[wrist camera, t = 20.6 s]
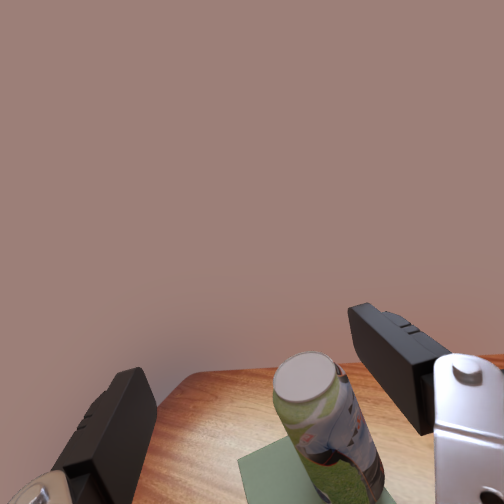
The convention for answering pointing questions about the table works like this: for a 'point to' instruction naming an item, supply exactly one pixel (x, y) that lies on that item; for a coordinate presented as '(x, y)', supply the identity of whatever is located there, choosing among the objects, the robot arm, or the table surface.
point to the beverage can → (328, 429)
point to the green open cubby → (281, 477)
